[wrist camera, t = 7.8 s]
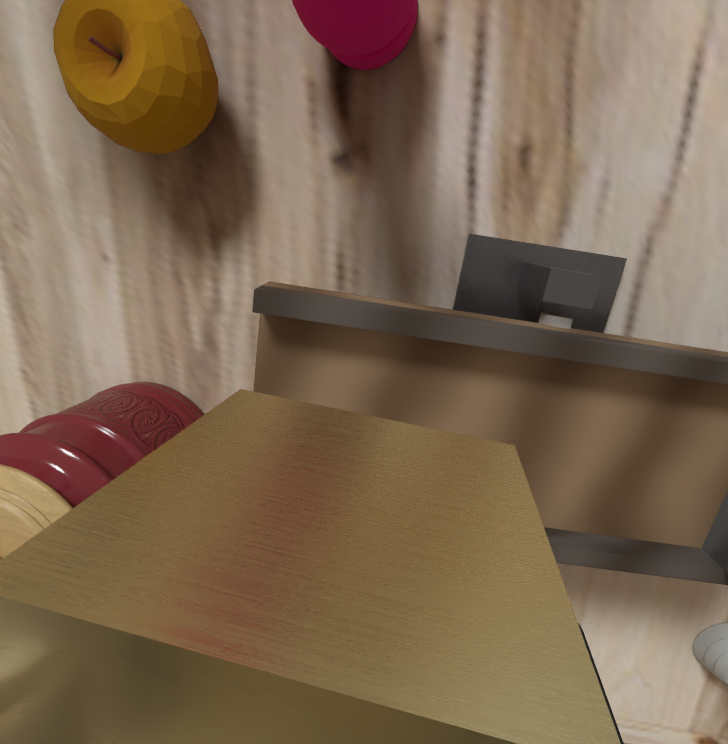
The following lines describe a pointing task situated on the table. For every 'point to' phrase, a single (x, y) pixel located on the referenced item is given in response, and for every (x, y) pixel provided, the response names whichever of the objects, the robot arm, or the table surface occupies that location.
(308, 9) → the pepper mill
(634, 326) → the table surface
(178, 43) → the apple
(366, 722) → the block
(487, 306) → the stand
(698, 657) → the chalice
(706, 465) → the beam
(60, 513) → the canister
